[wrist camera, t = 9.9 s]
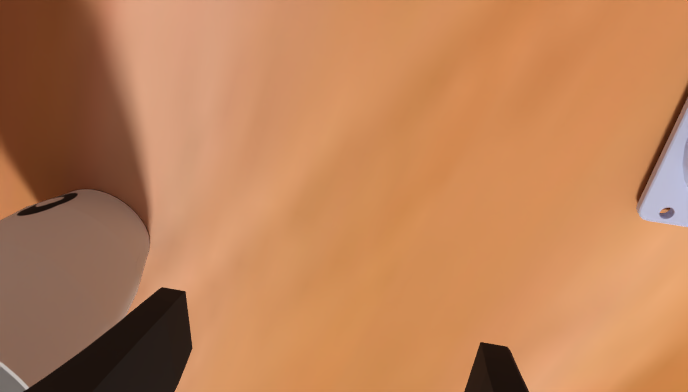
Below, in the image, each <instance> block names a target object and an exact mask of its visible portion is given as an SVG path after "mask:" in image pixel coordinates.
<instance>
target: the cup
mask: <svg viewBox="0 0 688 392" xmlns="http://www.w3.org/2000/svg"><path fill="white" fill-rule="evenodd" d="M149 248H150V240H149V235H148V232H147V229H146V227H145V225H144V224H143V222H142V220H141V219H140V218H139V216H138V215H137V214H136V213H135V212H134V211H133V210H132V209H131V208H130V207H129V206H128V205H126V204H125V203H124V202H122V201H121V200H119V199H117V198H116V197H114V196H112V195H110V194H107V193H104V192H101V191H97V190H91V189H81V190H76V191H73V192H70V193H67V194H64V195H61V196H58V197H55V198H52V199H49V200H46V201H43V202H40V203H37V204H34V205H31V206H28V207H26V208H23V209H22V210H20V211H18V212H16V213H14V214H12V215H10V216H8V217H6V218H4V219H2V220H0V392H23V391H25V390H26V389H28V388H30V387H31V386H33V385H34V384H36V383H37V382H39V381H40V380H41V379H43V378H44V377H46V376H47V375H49V374H50V373H52V372H53V371H54V370H56V369H57V368H59V367H60V366H61V365H63V364H64V363H66V362H67V361H68V360H70V359H71V358H73V357H74V356H75V355H77V354H78V353H79V352H81V351H82V350H83V349H85V348H86V347H87V346H89V345H90V344H91V343H93V342H94V341H95V340H96V339H98V338H99V337H100V336H102V335H103V334H104V333H105V332H107V331H108V330H109V329H111V328H112V327H113V326H114V325H116V324H117V323H118V322H119V321H121V320H122V319H123V318H124V317H125V316H126V314H127V312H128V310H129V308H130V306H131V304H132V302H133V300H134V297H135V295H136V293H137V291H138V287H139V284H140V280H141V277H142V273H143V270H144V266H145V263H146V259H147V256H148V252H149Z"/></svg>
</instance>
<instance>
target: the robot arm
mask: <svg viewBox="0 0 688 392" xmlns="http://www.w3.org/2000/svg"><path fill="white" fill-rule="evenodd" d="M669 207H670V208H671V209H670V210H669V211H668V212H666V213H660V211H661V210H662V209H664V208H669ZM636 209H637V212H638V214H639V215H640V217H641V218H642V219H644V220H647V221H652V222H658V223H665V224H671V225H678V226H684V227H688V98H687V100H686V102H685V104H684V106H683V108H682V110H681V113H680V115H679V117H678V119H677V121H676V123H675V125H674V127H673V130H672V132H671V134H670V136H669V138H668V140H667V142H666V144H665V146H664V149H663V151H662V153H661V155H660V157H659V159H658V161H657V163H656V166H655V168H654V170H653V172H652V174H651V176H650V178H649V180H648V182H647V185H646V187H645V189H644V191H643V193H642V195H641V197H640V199H639V202H638V204H637V208H636ZM191 350H192V341H191V333H190V325H189V317H188V309H187V300H186V292H185V291H180V290H174V289H169V288H163V287H162V288H160V289H159V290H158V291H156V292H155V293H154V294H153V295H151V296H150V297H149V298H148V299H146V300H145V301H144V302H143V303H141V304H140V305H139V306H138V307H137V308H135V309H134V310H133V311H132V312H130V313H129V314H128V315H127V316H126V317H124V318H123V319H122V320H121V321H119V322H118V323H117V324H116V325H114V326H113V327H112V328H111V329H109V330H108V331H107V332H105V333H104V334H103V335H102V336H100V337H99V338H98V339H96V340H95V341H94V342H93V343H91V344H90V345H89V346H87V347H86V348H85V349H83V350H82V351H81V352H79V353H78V354H77V355H75V356H74V357H73V358H71V359H70V360H68V361H67V362H66V363H64V364H63V365H61V366H60V367H59V368H57V369H56V370H54V371H53V372H52V373H50V374H49V375H47V376H46V377H44V378H43V379H41V380H40V381H39V382H37V383H36V384H34V385H33V386H31V387H30V388H28V389H26V390H25V391H23V392H174V391H175V389H176V388H177V385H178V383H179V381H180V378H181V376H182V373H183V371H184V368H185V366H186V363H187V361H188V358H189V356H190V353H191ZM464 392H529V391H528V389H527V387H526V384H525V382H524V380H523V378H522V376H521V374H520V372H519V369H518V367H517V365H516V363H515V360H514V358H513V356H512V353H511V351H510V350H509V348H508V347H506V346H500V345H494V344H488V343H483V342H480V346H479V349H478V352H477V355H476V358H475V361H474V364H473V367H472V370H471V373H470V376H469V379H468V382H467V385H466V388H465V391H464Z"/></svg>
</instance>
